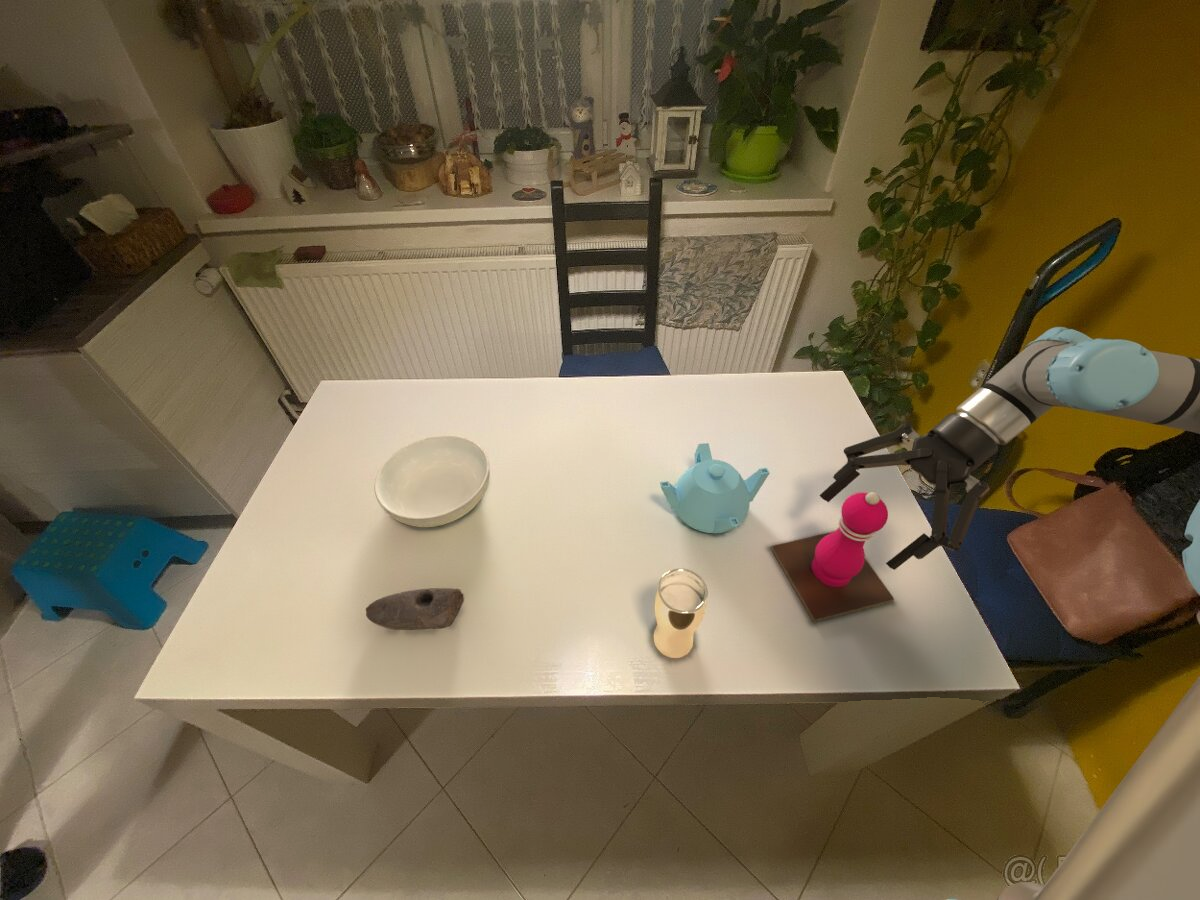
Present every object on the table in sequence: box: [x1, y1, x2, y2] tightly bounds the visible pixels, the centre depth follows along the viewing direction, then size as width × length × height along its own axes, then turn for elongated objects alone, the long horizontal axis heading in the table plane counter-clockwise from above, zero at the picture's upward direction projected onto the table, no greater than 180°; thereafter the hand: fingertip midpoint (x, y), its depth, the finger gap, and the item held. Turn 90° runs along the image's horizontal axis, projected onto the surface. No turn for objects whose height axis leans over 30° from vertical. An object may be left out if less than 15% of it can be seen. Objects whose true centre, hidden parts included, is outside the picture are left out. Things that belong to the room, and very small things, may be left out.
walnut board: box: [770, 531, 895, 623], centre depth 85 cm, size 14×14×1 cm
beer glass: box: [653, 567, 709, 659], centre depth 73 cm, size 7×7×15 cm
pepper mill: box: [812, 491, 889, 587], centre depth 77 cm, size 7×7×20 cm
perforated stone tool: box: [365, 587, 464, 630], centre depth 78 cm, size 15×5×7 cm, turn 92°
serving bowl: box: [373, 434, 491, 528], centre depth 96 cm, size 21×21×7 cm
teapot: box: [659, 442, 770, 534], centre depth 92 cm, size 15×15×11 cm
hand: (854, 531), depth 76 cm, fingers open, 13 cm apart
